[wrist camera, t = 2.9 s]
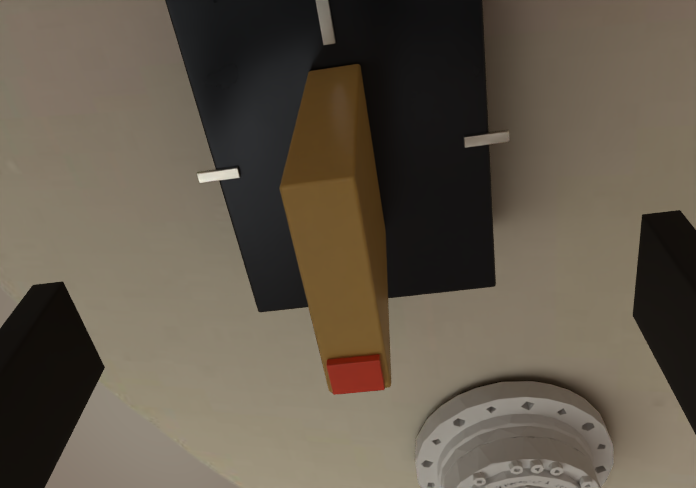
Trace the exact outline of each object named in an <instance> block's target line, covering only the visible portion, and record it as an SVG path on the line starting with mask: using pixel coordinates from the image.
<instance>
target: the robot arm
mask: <svg viewBox="0 0 696 488" xmlns="http://www.w3.org/2000/svg"><path fill="white" fill-rule="evenodd" d="M633 317H634V319H635V321H636V323H637V324H638V326H639V328H640V330H641V332H642V334H643V336H644V338H645V340H646V341H647V343H648V345H649V347H650V349H651V351H652V353H653V355H654V357H655V359H656V360H657V362H658V364H659V366H660V368H661V370H662V372H663V374H664V376H665V377H666V379H667V381H668V383H669V385H670V387H671V389H672V391H673V393H674V394H675V396H676V398H677V400H678V402H679V404H680V406H681V408H682V410H683V411H684V413H685V415H686V417H687V419H688V421H689V423H690V425H691V427H692V428H693V430H694V432H695V434H696V230H695V228H694V227H693V226H692V225H691V223H690V222H689V221H688V220H687V218H686V217H685V216H684V215H683V213H682V212H681V211H680V210H678V211H669V212H661V213H652V214H643V215H642V222H641V233H640V244H639V254H638V265H637V276H636V286H635V297H634V308H633ZM104 368H105V367H104V365H103V363H102V361H101V359H100V357H99V355H98V352H97V350H96V348H95V346H94V344H93V342H92V340H91V338H90V336H89V334H88V332H87V330H86V328H85V326H84V324H83V322H82V320H81V317H80V315H79V313H78V311H77V309H76V307H75V305H74V303H73V301H72V299H71V297H70V295H69V293H68V291H67V289H66V287H65V285H64V282H55V283H47V284H38V285H33V286H32V287H31V288H30V290H29V291H28V292H27V294H26V295H25V296H24V297H23V299H22V300H21V301H20V303H19V304H18V305H17V307H16V308H15V310H14V311H13V312H12V314H11V315H10V316H9V318H8V319H7V320H6V322H5V323H4V324H3V325H2V327H1V328H0V488H45V486H46V484H47V482H48V480H49V478H50V476H51V474H52V472H53V470H54V468H55V466H56V463H57V462H58V460H59V458H60V456H61V454H62V452H63V450H64V448H65V446H66V444H67V442H68V440H69V438H70V436H71V434H72V432H73V430H74V428H75V426H76V424H77V422H78V420H79V418H80V416H81V414H82V412H83V410H84V408H85V406H86V404H87V402H88V400H89V398H90V396H91V394H92V392H93V390H94V388H95V386H96V384H97V382H98V380H99V378H100V376H101V374H102V372H103V370H104Z"/></svg>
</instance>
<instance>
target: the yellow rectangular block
mask: <svg viewBox="0 0 696 488" xmlns="http://www.w3.org/2000/svg"><path fill="white" fill-rule="evenodd" d="M279 189H280V193H281V197H282V201H283V205H284V209H285V213H286V217H287V221H288V225H289V230H290V234H291V238H292V242H293V246H294V250H295V254H296V258H297V262H298V266H299V270H300V274H301V278H302V282H303V287H304V291H305V295H306V299H307V303H308V307H309V311H310V315H311V319H312V323H313V327H314V331H315V335H316V340H317V344H318V348H319V352H320V356H321V360H322V364H323V368H324V372H325V376H326V380H327V384H328V388H329V391H330V392H332V393H333V394H334V395H335V394H346V393H356V392H367V391H378V390H384V389H385V388H387V387H390V386H391V363H390V337H389V310H388V283H387V257H386V231H385V224H384V217H383V211H382V204H381V198H380V191H379V185H378V178H377V171H376V165H375V158H374V152H373V145H372V139H371V132H370V125H369V119H368V112H367V106H366V99H365V93H364V86H363V79H362V73H361V66H360V65H359V64H354V65H347V66H340V67H334V68H327V69H321V70H314V71H310V72H308V76H307V80H306V84H305V88H304V92H303V96H302V100H301V104H300V108H299V112H298V116H297V120H296V124H295V128H294V132H293V136H292V140H291V144H290V148H289V152H288V156H287V160H286V164H285V168H284V172H283V176H282V180H281V184H280V188H279Z"/></svg>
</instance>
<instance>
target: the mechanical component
mask: <svg viewBox="0 0 696 488" xmlns="http://www.w3.org/2000/svg"><path fill="white" fill-rule="evenodd" d="M415 462H416V470H417V478H418V483H419V485H420V486H421V488H601V486H602V485H603V484H604V482H605V481H606V480H607V478H608V475H609V473H610V471H611V468H612V466H613V444H612V441H611V438H610V436H609V433H608V431H607V428H606V426H605V424H604V421H603V419H602V417H601V415H600V413H599V412H598V411H597V410H596V409H595V408H594V407H593V406H592V405H591V404H590V403H589V402H588V401H587V400H586V399H584V398H583V397H581V396H579V395H577V394H575V393H573V392H572V391H570V390H568V389H564V388H561V387H558V386H555V385H551V384H546V383H540V382H534V381H518V382H499V383H495V384H491V385H487V386H482V387H478V388H474V389H472V390H470V391H467V392H465V393H462V394H460V395H458V396H456V397H454V398H453V399H451V400H449V401H448V402H446V403H445V404H443V405H441V406H440V407H439V408H438V409H437V410H436V411H435V412H434V413H433V414H432V415H431V416H430V417H429V418H428V419H427V420H426V422H425V423H424V425H423V427H422V429H421V430H420V432H419V434H418V435H417V437H416V448H415Z"/></svg>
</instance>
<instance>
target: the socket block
mask: <svg viewBox="0 0 696 488" xmlns="http://www.w3.org/2000/svg"><path fill="white" fill-rule="evenodd" d="M165 1H166V4H167V8H168V11H169V14H170V18H171V21H172V24H173V28H174V31H175V34H176V38H177V41H178V44H179V48H180V51H181V54H182V58H183V61H184V64H185V68H186V71H187V74H188V78H189V81H190V84H191V88H192V91H193V94H194V98H195V101H196V105H197V108H198V111H199V115H200V118H201V121H202V125H203V128H204V131H205V135H206V138H207V141H208V145H209V148H210V151H211V155H212V158H213V161H214V165H215V168H216V169H215V170H207V171H200V172H197V176H198V179H199V182H200V183H204V182H212V181H220V185H221V188H222V191H223V195H224V198H225V201H226V205H227V208H228V211H229V215H230V218H231V221H232V225H233V228H234V231H235V235H236V238H237V241H238V245H239V248H240V251H241V255H242V258H243V261H244V265H245V268H246V272H247V275H248V278H249V282H250V285H251V288H252V292H253V295H254V298H255V302H256V305H257V308H258V311H259V312H267V311H276V310H285V309H294V308H303V307H308V303H307V299H306V295H305V291H304V287H303V282H302V278H301V274H300V270H299V266H298V262H297V258H296V254H295V250H294V246H293V242H292V238H291V234H290V230H289V225H288V221H287V217H286V213H285V209H284V205H283V201H282V197H281V193H280V189H279V188H280V184H281V180H282V176H283V172H284V168H285V164H286V160H287V156H288V152H289V148H290V144H291V140H292V136H293V132H294V128H295V124H296V120H297V116H298V112H299V108H300V104H301V100H302V96H303V92H304V88H305V84H306V80H307V76H308V72H310V71H314V70H321V69H327V68H334V67H340V66H347V65H354V64H359V65H360V66H361V73H362V79H363V86H364V93H365V99H366V106H367V112H368V119H369V125H370V132H371V139H372V145H373V152H374V158H375V165H376V171H377V178H378V185H379V191H380V198H381V204H382V211H383V217H384V224H385V231H386V257H387V283H388V298H395V297H404V296H413V295H422V294H431V293H440V292H449V291H458V290H468V289H477V288H486V287H494V286H495V285H496V279H495V258H494V237H493V216H492V194H491V173H490V152H489V144H496V143H503V142H509V131H508V130H502V131H495V132H489V131H488V110H487V89H486V68H485V47H484V26H483V5H482V0H165Z"/></svg>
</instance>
